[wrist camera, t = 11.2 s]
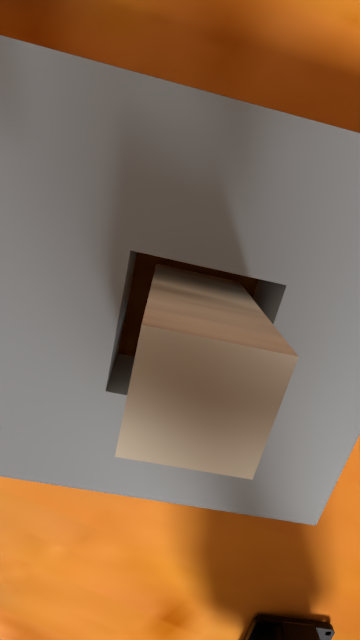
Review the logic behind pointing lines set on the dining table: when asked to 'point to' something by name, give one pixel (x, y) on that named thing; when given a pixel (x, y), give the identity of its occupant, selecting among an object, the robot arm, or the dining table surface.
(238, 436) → the birch peg
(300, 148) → the socket block
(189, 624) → the dining table surface
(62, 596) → the dining table surface
